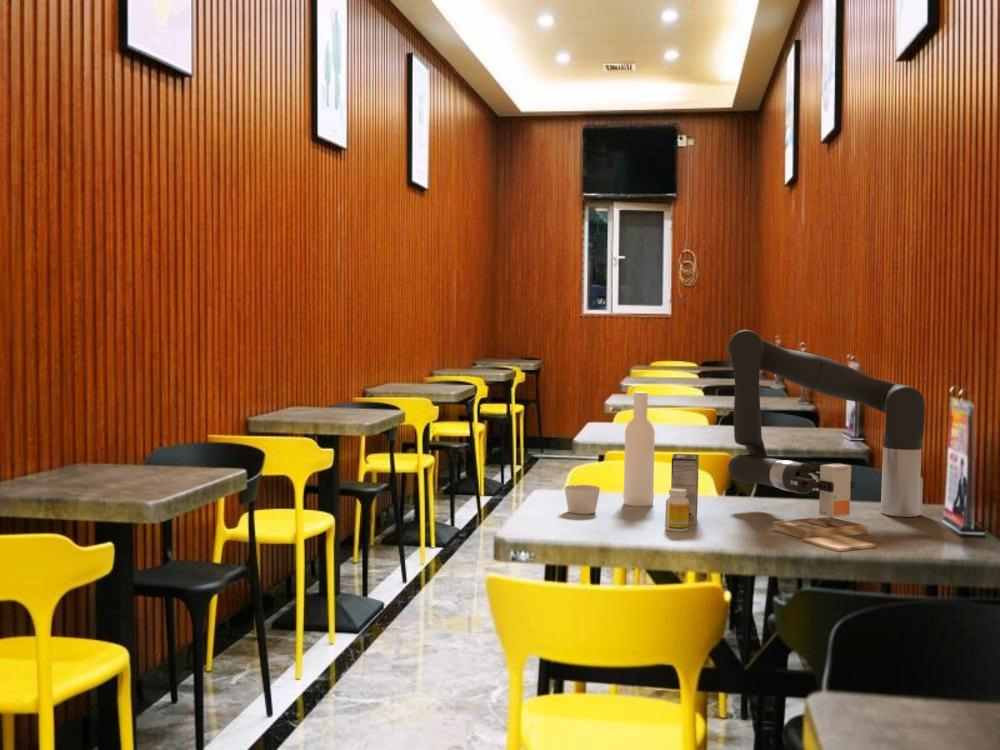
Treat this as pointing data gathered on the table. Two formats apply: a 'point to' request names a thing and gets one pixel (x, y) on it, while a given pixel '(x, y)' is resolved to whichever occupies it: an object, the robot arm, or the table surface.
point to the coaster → (838, 542)
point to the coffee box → (687, 480)
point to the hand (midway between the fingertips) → (843, 486)
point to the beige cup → (582, 498)
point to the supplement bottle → (677, 510)
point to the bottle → (639, 456)
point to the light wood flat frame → (819, 527)
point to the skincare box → (835, 490)
